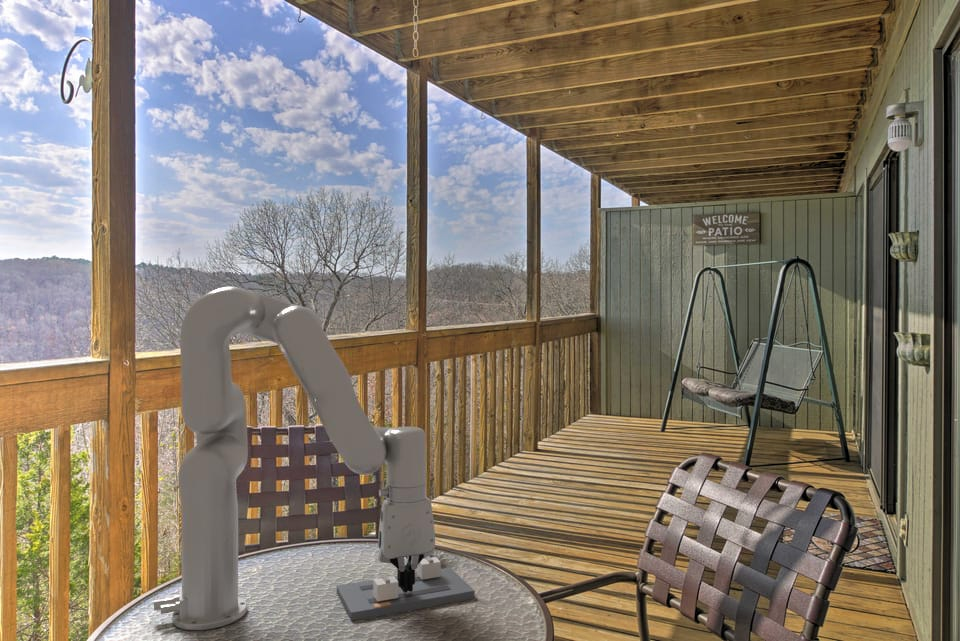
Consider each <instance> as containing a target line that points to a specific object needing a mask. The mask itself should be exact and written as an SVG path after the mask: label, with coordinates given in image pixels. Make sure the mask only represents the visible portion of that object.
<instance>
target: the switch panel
mask: <svg viewBox="0 0 960 641" xmlns="http://www.w3.org/2000/svg"><path fill="white" fill-rule="evenodd" d="M393 576H394V575H393ZM394 577H395V578H396V579H397V575H395V576H394ZM475 593H476V592H475V590H474V589H473V587H471V586H470V585H469V584H468V583H467V582H466V581H465V580H464V579H463V578H462V577H461V576H460V575H459V574H458V573H457V572H456V571H455V570H454V569H453V568H452V567H444V568H441V577H435V578H429V579H423V580H422V579H421V578H420V577H419V576H418V575H417V572H415V584H414V585H413V591H411V592H409V591H407V592H405V593H404V592H403V590H402V589H401V588H400V587H399V586H398V598H395V599H389V600H383V601H377V600H376V599H375V597H374V596H373V579H371V580H369V579H368V580H364V581H359V582H353V583H345V584H340V585H336V595H337V594H338V595H337V597H338V596H339V597H338V598H340V599H339V601H340V600H341V601H340V602H342V603H341V604H343V605H342V607H343V606H344V607H343V608H344V610H345V612H346V614H347V616H348V618H349V620H350V622H354V621H359V620H363V619H370V618H376V617H382V616H387V615H392V614H395V613H396V614H397V613H402V612H409V611H414V610H419V609H425V608H430V607H435V606H440V605H441V606H442V605H446V604H447V605H448V604H451V603H457V602H458V603H459V602H463V601H467V600H468V601H469V600H473V599H475Z"/></svg>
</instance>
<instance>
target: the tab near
mask: <svg viewBox="0 0 960 641" xmlns="http://www.w3.org/2000/svg"><path fill="white" fill-rule="evenodd" d="M372 580H373V596H374V597H375V599H376V600H377V601H383V600H389V599H395V598H398V581H397V579H396V578H395V577H394V575H393V576H388V575H387V574H385V573H384V574H381V578H373V579H372Z"/></svg>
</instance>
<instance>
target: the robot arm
mask: <svg viewBox="0 0 960 641" xmlns="http://www.w3.org/2000/svg"><path fill="white" fill-rule="evenodd" d="M179 333H180V334H179V336H180V337H179V343H180V344H179V348H180V349H179V351H180V389H181V391H180V392H181V416H182V419H183V420H182V421H183V422H184V424H185V426H186V427H187V428H188V429H189V430H190V431H191V432H194V433H195V434H196V445H194V446H193V447H192V448H190V450H189V451H187V453H186V454H185V456H184V457H183V459H182V460H181V462H180V465H179V469H178V474H177V475H178V477H177V481H178V490H179V497H180V499H179V500H180V511H181V512H180V513H181V514H180V516H181V588H179V593H178V594H173V597H167V598H165V597H163V598H155V599H153V612H156V611H160V615H164V614H169V613H172V615H171V619H172V620H171V621H172V624H173V625H174V626H175V627H177V628H180V629H182V630H187V631H204V630H205V631H206V630H212V629H216V628H217V629H218V628H221V627H224V626H226V625H230V624H233V623H235V622H236V621H238V620H240V619H241V618H242V617H243V616H244V615H245V614H246V613H247V611H248V602H247V600H245V599H244V598H242V597H241V596H239V506H238V505H239V504H238V494H237V478H238V477H239V476H240V475H241V474H242V472H243V471H244V469H245V468H246V465H247V463H248V458H249V454H248V453H249V447H248V445H249V444H248V442H249V441H248V420H247V419H248V418H247V406H246V405H247V403H246V398H245V395H244V392H243V390H242V389H241V387H240V386H239V385H238V384H236V383H235V382H234V381H233V380H232V356H231V351H230V350H231V349H230V340H231V338H232V336H233V335H235V334H245V335H248V336H252V337H255V338H258V339H261V340H264V341H268V342H270V343H271V342H272V343H275V344H277V346H278V348H279V349H280V352H282V354H283V356H284V358H285V359H286V362H288V364H289V367H291V369H292V371H293V373H294V374H295V376H296V378H297V380H298V381H299V383H300V385H301V386H302V388H303V390H304V391H305V392H304V393H306V395H307V397H308V400H309V401H310V405H311V406H312V408H313V410H314V411H315V413H316V415H317V417H318V418H319V421H320V423H321V424H322V425H321V426H323V428H324V430H325V432H326V435H327V436H328V437H329V439H330V441H331V443H332V445H333V446H334V447H335V449H336V451H337V452H338V454H339V456H340V458H341V460H342V461H343V463H344V464H345V466H346V467H347V468H348V469H349V470H350V471H352V472H354V473H355V474H358V475H362V476H365V475H370V474H374V473H376V472H377V471H379V470H380V469H381V467H382V466H383V465H384V463H385V466H386V470H385V471H386V474H385V476H386V478H385V479H386V483H385V486H384V487H383V488H381V489H379V490H378V495H379V497H381V498H382V497H383V498H385V499H384V500H383V502H382V505H381V511H380V518H379V527H378V541H377V542H378V549H379V552H378V556H377V559H378V561H379V562H380V563H383V564H384V563H385V564H392V566H394V567H395V568H396V569H397V571H396V572H397V575H396V576H397V581H398V586H399V587H400V588H401V589H402V590H403V592H404V593H405V592H407V591H409V592H411V591H413V585H414V584H415V573H416V570H417V566H418V564H419V563H420V562H421V561H422V559H425V558H426V557H428V556H430V557H431V556H432V555H434V552H435V551H434V550H435V547H436V534H435V533H436V531H435V520H434V519H435V518H434V512H433V511H434V510H433V504H432V501H431V498H430V497H427V435H426V432H425V430H424V429H423V428H421V427H417V426H397V427H396V426H395V427H387V426H386V427H383V426H376V425H372V423H371V420H369V418H368V417H367V414H366V413H365V411H364V409H363V407H362V405H361V403H360V401H359V399H358V397H357V394H356V391H355V389H354V385H353V381H352V378H351V375H350V373H349V370H348V369H347V368H346V366H345V364H344V363H343V361H342V359H341V358H340V356H339V354H338V353H337V350H336V349H335V347H334V346H333V345H332V343H331V341H330V339H329V337H328V335H327V334H326V332H325V330H324V329H323V324H322V321H321V318H320V316H319V315H318V314H317V312H316V311H314V310H312V309H311V308H308V307H306V306H303V305H297V304H295V303H291V302H287V301H284V300H281V299H277V298H274V297H271V296H268V295H265V294H263V293H259V292H256V291H254V290H249V289H246V288H243V287H238V286H222V287H219V288H217V289H214V290H211V291H209V292H207V293H205V294H204V295H202V296H201V297H199V298H198V299H197V300H196V301H194V303H193V304H192V305H191V306H190V307H189V308H188V309H187V311H186V313H185V315H184V317H183V320H182V322H181V327H180V332H179ZM407 556H408V558H407ZM405 557H406V558H407V559H406V562H405ZM405 563H406V564H405Z"/></svg>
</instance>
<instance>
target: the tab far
mask: <svg viewBox="0 0 960 641" xmlns="http://www.w3.org/2000/svg"><path fill="white" fill-rule="evenodd" d="M441 562H442V561H441V560H440V559H439V558H437V557H436V556H433V557H431V555H430V556H428V557H426V558H423V559H422V561H421V562H420V563H419V564H418V566H417V569H416V570H417V571H416V573H417V575H418V576H419V577H420V578H421V579H422V580H423V579H429V578H435V577H441V569H442V568H441V567H442V563H441Z"/></svg>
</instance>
